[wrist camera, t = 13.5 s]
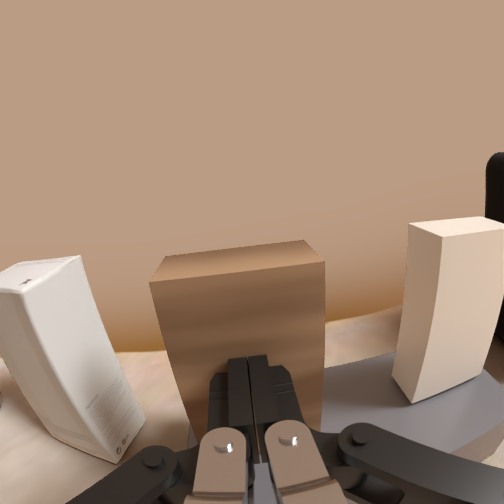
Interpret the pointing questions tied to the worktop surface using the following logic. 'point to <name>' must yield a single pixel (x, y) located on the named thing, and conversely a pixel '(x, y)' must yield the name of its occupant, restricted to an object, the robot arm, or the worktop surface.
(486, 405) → the keypad base
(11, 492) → the worktop surface
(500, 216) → the air purifier
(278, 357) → the walnut key
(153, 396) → the worktop surface
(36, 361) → the skincare box
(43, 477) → the worktop surface
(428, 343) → the wooden block
